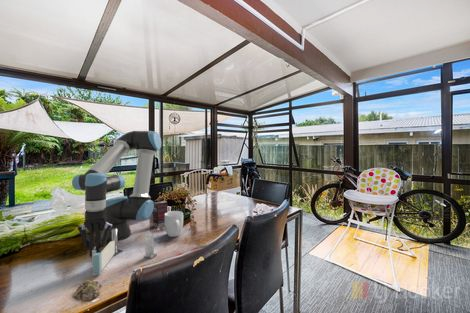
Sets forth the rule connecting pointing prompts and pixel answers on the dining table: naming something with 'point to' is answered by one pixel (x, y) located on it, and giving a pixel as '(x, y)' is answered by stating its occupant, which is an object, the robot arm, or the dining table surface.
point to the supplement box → (159, 213)
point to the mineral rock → (88, 290)
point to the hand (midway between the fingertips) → (95, 263)
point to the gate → (103, 258)
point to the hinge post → (114, 238)
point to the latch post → (150, 247)
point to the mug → (173, 223)
